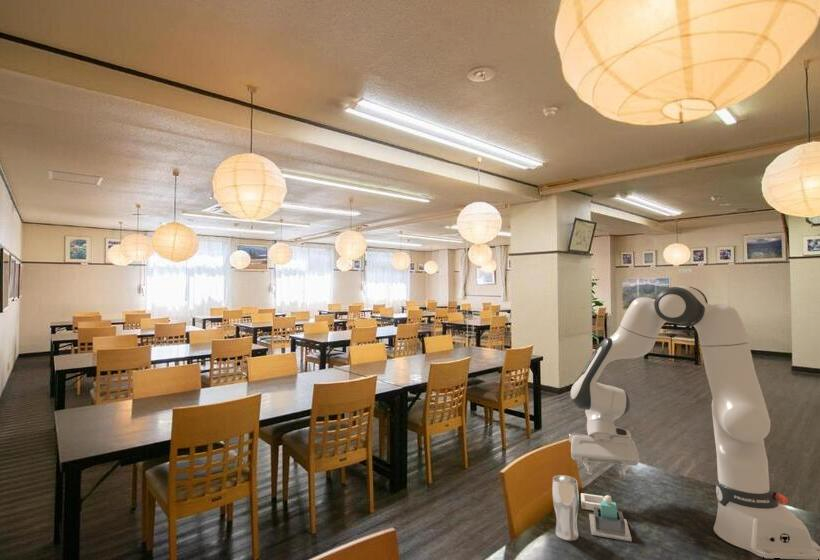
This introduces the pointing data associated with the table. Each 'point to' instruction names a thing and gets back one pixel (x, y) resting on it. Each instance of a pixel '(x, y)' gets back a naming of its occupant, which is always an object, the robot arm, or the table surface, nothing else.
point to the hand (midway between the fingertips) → (606, 475)
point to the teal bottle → (608, 508)
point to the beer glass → (566, 506)
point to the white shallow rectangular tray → (591, 501)
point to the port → (609, 526)
